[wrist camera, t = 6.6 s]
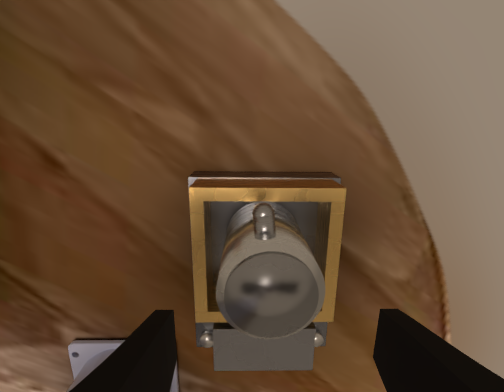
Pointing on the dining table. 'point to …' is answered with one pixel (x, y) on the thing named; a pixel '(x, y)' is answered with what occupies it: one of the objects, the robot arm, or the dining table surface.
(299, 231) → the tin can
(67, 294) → the dining table surface
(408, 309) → the dining table surface
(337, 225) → the grey and gold fixture
